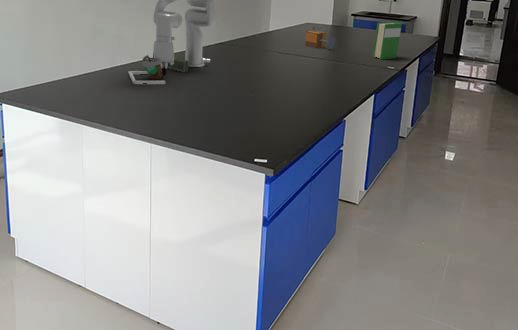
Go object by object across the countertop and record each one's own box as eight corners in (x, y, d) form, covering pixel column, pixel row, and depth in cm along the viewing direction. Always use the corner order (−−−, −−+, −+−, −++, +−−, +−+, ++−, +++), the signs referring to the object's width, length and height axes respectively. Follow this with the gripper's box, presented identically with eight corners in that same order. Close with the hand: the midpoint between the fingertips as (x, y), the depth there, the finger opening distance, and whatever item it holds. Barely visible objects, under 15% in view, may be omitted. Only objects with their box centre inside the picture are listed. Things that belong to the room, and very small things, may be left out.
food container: (142, 77, 288) (136, 59, 283) (152, 72, 291) (147, 54, 286) (154, 83, 280) (149, 64, 274) (165, 78, 283) (159, 59, 277)
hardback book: (380, 59, 391) (386, 24, 383) (372, 57, 396) (377, 22, 388) (396, 58, 402) (401, 23, 394) (387, 56, 407) (393, 22, 399)
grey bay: (158, 74, 297) (158, 71, 296) (165, 84, 277) (165, 81, 277) (128, 73, 292) (128, 71, 291) (133, 84, 272) (133, 81, 272)
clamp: (326, 50, 410) (328, 30, 405) (305, 46, 423) (307, 26, 418) (334, 49, 417) (337, 29, 412) (313, 45, 430) (316, 25, 425)
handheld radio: (184, 73, 305) (151, 65, 318) (188, 72, 307) (156, 64, 320) (185, 60, 302) (152, 53, 316) (189, 60, 305) (156, 52, 318)
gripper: (177, 38, 285) (176, 74, 292) (147, 37, 280) (147, 74, 287) (180, 40, 279) (179, 77, 285) (149, 39, 274) (149, 77, 280)
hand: (163, 75), depth 286 cm, fingers closed
